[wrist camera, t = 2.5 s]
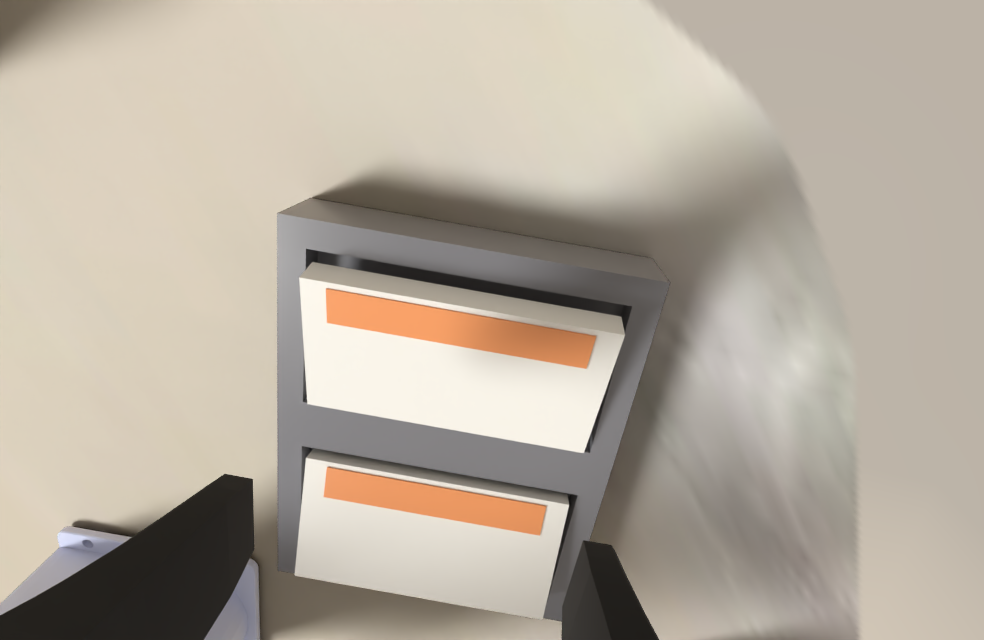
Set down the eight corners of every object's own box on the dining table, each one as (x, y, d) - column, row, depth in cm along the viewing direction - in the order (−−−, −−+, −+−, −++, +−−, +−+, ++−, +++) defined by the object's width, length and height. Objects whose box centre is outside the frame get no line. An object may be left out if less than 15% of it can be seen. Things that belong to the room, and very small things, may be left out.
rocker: (318, 385, 19) (306, 405, 18) (312, 262, 16) (298, 278, 15) (582, 432, 19) (583, 454, 18) (621, 316, 16) (625, 336, 15)
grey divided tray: (302, 523, 24) (277, 570, 22) (310, 198, 18) (276, 212, 16) (560, 569, 24) (563, 621, 22) (652, 258, 18) (670, 283, 16)
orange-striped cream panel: (304, 558, 21) (293, 576, 20) (316, 445, 20) (305, 459, 19) (541, 600, 21) (542, 621, 20) (566, 489, 20) (569, 505, 19)
